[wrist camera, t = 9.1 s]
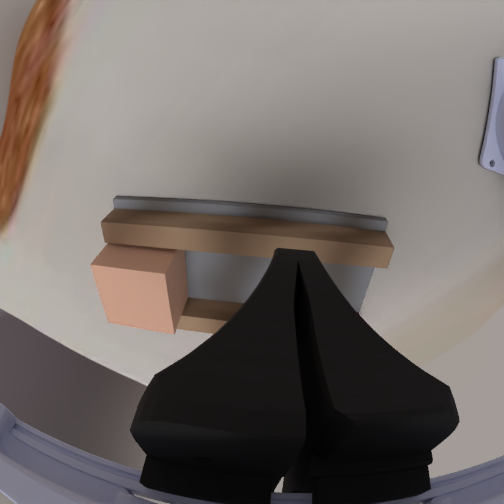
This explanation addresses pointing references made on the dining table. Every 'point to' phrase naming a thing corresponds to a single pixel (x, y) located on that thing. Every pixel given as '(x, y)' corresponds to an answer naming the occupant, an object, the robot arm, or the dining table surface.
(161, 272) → the block
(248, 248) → the walnut chute
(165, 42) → the dining table surface
